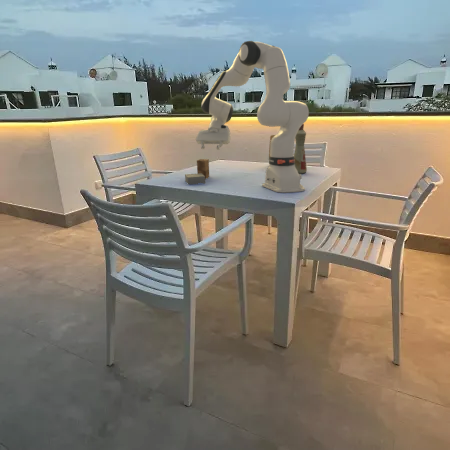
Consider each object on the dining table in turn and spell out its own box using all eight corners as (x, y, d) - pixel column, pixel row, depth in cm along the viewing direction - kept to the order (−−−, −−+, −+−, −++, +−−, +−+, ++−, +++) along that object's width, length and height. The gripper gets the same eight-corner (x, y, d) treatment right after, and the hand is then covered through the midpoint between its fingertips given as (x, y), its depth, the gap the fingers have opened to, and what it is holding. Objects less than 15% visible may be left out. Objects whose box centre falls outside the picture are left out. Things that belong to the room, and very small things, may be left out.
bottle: (290, 171, 198) (292, 122, 189) (306, 171, 197) (309, 122, 187) (290, 174, 190) (293, 123, 181) (306, 174, 189) (310, 123, 179)
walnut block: (209, 177, 186) (208, 159, 183) (206, 178, 182) (205, 160, 178) (201, 176, 188) (200, 159, 184) (197, 178, 183) (196, 160, 180)
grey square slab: (205, 183, 171) (204, 176, 170) (188, 185, 169) (187, 177, 168) (201, 180, 179) (201, 173, 178) (185, 181, 177) (184, 174, 176)
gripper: (197, 126, 196) (191, 145, 190) (230, 126, 189) (225, 145, 184) (201, 133, 201) (195, 151, 196) (233, 133, 195) (228, 152, 189)
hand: (210, 148), depth 190 cm, fingers open, 8 cm apart
